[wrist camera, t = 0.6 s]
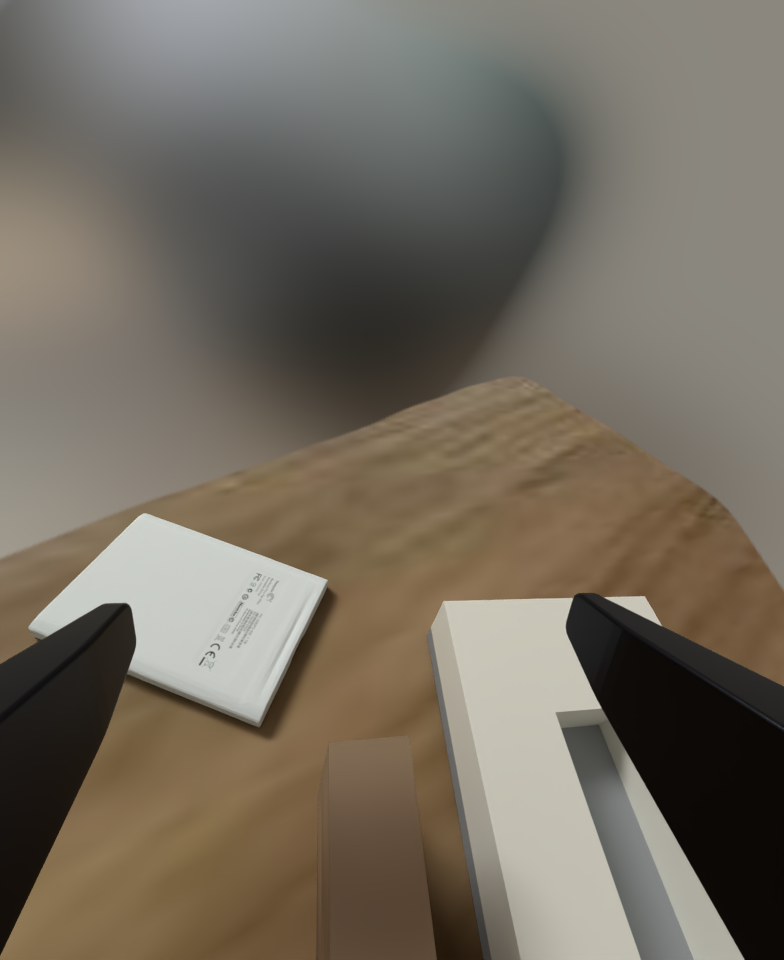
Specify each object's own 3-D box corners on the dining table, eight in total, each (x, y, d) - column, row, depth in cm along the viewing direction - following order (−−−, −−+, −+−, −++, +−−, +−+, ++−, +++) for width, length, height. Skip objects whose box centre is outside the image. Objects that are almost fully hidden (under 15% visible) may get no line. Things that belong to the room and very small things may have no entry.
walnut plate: (391, 1095, 13) (474, 1270, 7) (314, 1115, 13) (332, 1321, 7) (371, 789, 19) (409, 735, 13) (317, 795, 18) (328, 742, 12)
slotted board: (980, 1391, 12) (1198, 1548, 9) (594, 1600, 9) (724, 1904, 6) (608, 627, 27) (644, 596, 24) (426, 635, 24) (443, 601, 22)
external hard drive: (150, 526, 27) (327, 591, 26) (39, 642, 21) (260, 731, 20) (143, 510, 26) (329, 576, 25) (24, 627, 20) (258, 722, 19)
